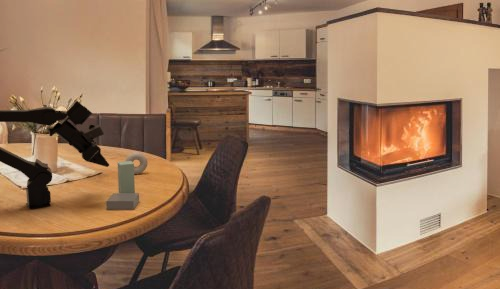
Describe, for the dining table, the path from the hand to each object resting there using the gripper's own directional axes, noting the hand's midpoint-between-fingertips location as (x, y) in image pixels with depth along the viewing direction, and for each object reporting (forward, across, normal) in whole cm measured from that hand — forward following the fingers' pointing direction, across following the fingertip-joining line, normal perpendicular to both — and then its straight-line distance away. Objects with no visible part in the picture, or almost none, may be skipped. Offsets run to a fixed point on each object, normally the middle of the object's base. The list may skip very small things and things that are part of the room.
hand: (106, 163), depth 148 cm
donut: (+21, +31, -2) cm, 37 cm away
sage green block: (+14, 0, +4) cm, 15 cm away
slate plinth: (+12, -11, +7) cm, 18 cm away
